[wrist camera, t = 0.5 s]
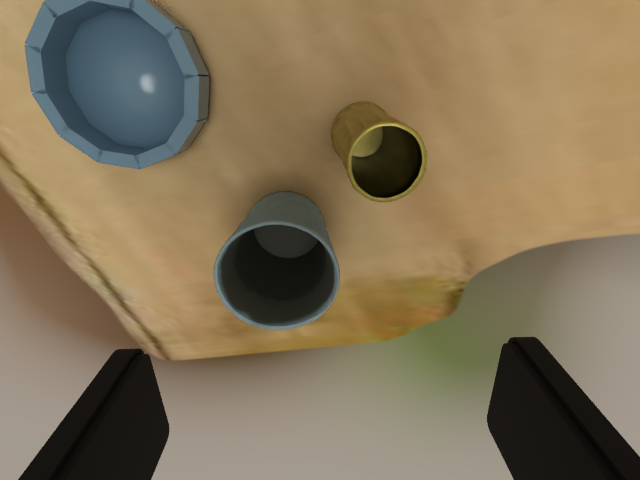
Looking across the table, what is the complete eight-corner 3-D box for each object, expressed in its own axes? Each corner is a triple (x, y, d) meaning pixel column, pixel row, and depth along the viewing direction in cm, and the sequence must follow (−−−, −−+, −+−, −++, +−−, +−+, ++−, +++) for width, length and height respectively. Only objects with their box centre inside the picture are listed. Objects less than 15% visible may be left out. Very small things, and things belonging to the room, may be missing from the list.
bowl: (49, -19, 31) (13, -33, 27) (214, 13, 32) (201, 4, 28) (67, 146, 36) (39, 153, 33) (207, 168, 37) (196, 178, 34)
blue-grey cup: (229, 246, 41) (197, 306, 30) (261, 165, 37) (238, 200, 26) (310, 278, 43) (308, 346, 32) (348, 204, 39) (361, 252, 28)
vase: (343, 173, 38) (357, 221, 25) (321, 116, 36) (325, 135, 22) (399, 151, 37) (444, 189, 24) (381, 91, 35) (420, 96, 22)
